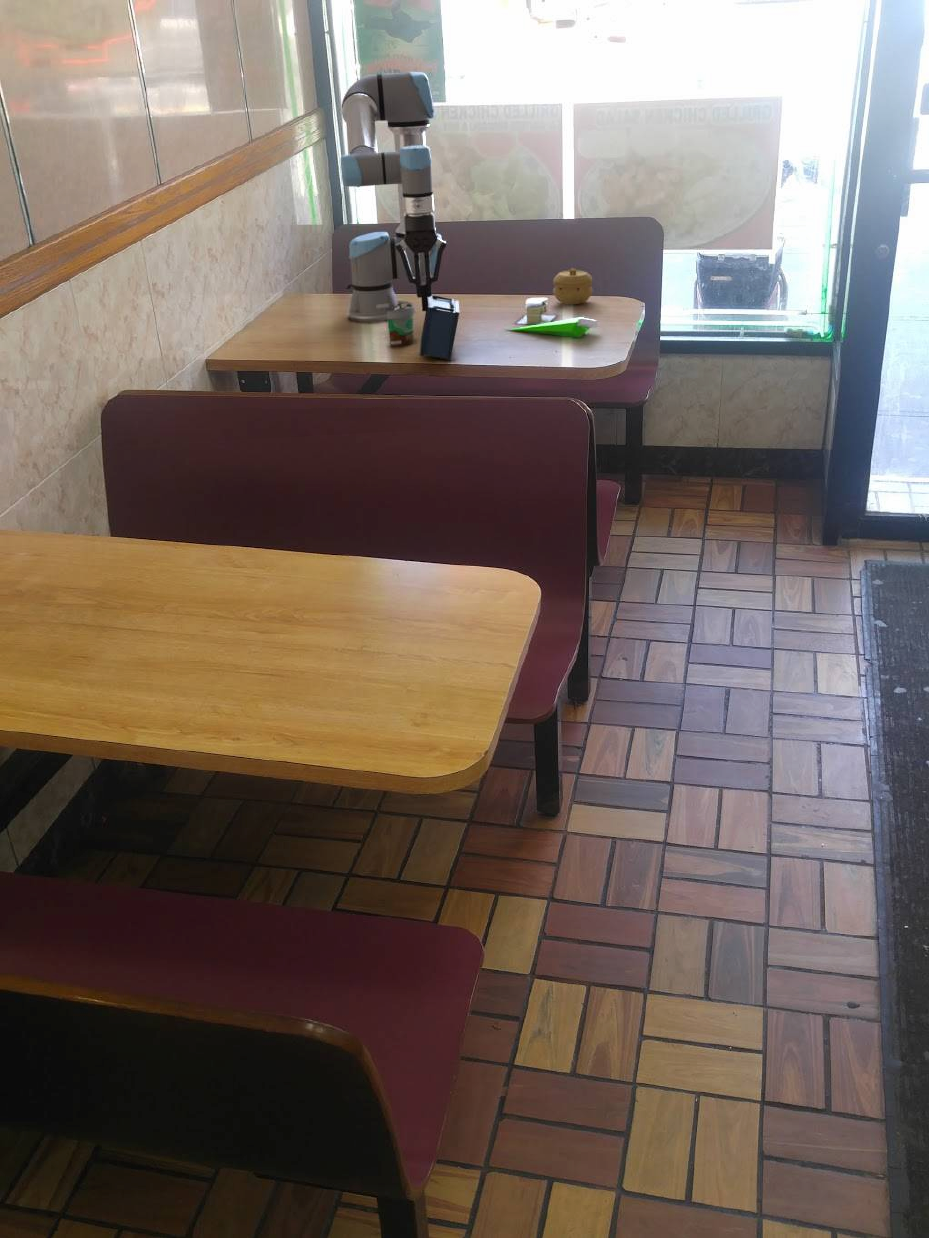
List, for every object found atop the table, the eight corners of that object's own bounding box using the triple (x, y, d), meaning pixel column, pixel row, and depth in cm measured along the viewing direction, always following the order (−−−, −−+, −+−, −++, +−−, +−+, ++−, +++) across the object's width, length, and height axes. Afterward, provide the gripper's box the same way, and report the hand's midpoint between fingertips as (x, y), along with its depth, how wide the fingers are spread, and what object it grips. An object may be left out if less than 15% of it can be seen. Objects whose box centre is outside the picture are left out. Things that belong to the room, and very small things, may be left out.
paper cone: (498, 342, 310) (580, 335, 298) (497, 322, 309) (580, 314, 297) (517, 344, 320) (598, 338, 307) (516, 324, 319) (598, 317, 306)
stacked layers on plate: (546, 324, 317) (546, 305, 315) (516, 323, 320) (515, 304, 317) (556, 316, 325) (556, 296, 323) (526, 314, 328) (526, 295, 326)
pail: (420, 342, 301) (429, 292, 295) (450, 347, 302) (459, 298, 295) (419, 356, 289) (428, 305, 283) (450, 361, 290) (459, 310, 284)
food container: (411, 349, 302) (408, 311, 297) (389, 348, 303) (386, 311, 299) (422, 336, 313) (419, 300, 308) (400, 336, 314) (398, 300, 309)
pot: (545, 304, 339) (544, 270, 334) (571, 296, 345) (571, 262, 340) (574, 309, 331) (574, 275, 326) (600, 301, 338) (601, 267, 333)
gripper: (392, 217, 275) (399, 314, 287) (445, 214, 275) (450, 312, 287) (393, 212, 282) (400, 307, 293) (445, 209, 282) (450, 305, 293)
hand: (425, 309), depth 290 cm, fingers closed
